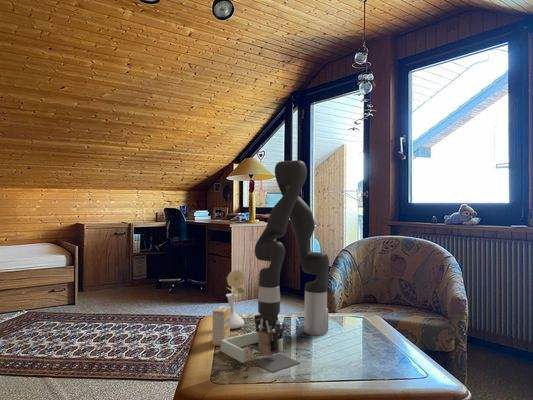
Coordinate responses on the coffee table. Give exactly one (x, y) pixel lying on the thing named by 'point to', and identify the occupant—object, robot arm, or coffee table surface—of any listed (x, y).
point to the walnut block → (266, 343)
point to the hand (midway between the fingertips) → (268, 348)
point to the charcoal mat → (276, 363)
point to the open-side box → (241, 345)
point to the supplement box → (221, 324)
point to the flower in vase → (235, 280)
